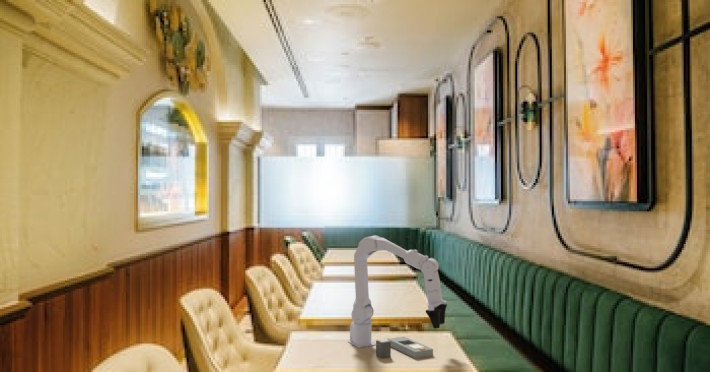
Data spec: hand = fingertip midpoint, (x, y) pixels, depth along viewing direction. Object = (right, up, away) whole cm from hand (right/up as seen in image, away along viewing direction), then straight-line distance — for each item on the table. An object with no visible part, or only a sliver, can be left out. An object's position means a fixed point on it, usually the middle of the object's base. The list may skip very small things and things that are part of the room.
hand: (439, 325), depth 203 cm
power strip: (-11, -10, +3) cm, 16 cm away
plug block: (-22, -10, -4) cm, 24 cm away
